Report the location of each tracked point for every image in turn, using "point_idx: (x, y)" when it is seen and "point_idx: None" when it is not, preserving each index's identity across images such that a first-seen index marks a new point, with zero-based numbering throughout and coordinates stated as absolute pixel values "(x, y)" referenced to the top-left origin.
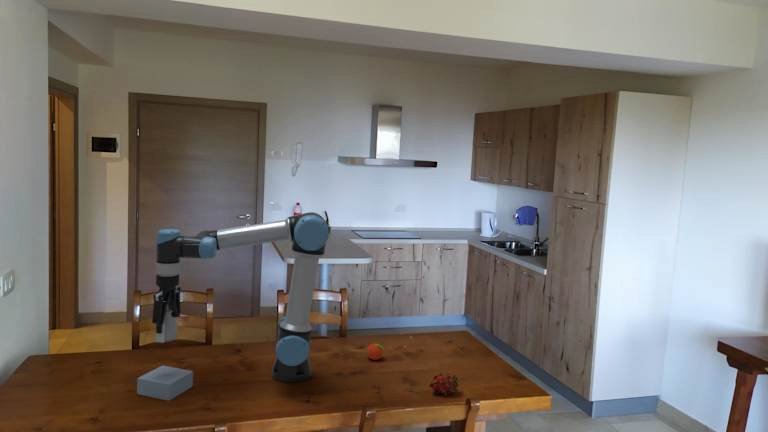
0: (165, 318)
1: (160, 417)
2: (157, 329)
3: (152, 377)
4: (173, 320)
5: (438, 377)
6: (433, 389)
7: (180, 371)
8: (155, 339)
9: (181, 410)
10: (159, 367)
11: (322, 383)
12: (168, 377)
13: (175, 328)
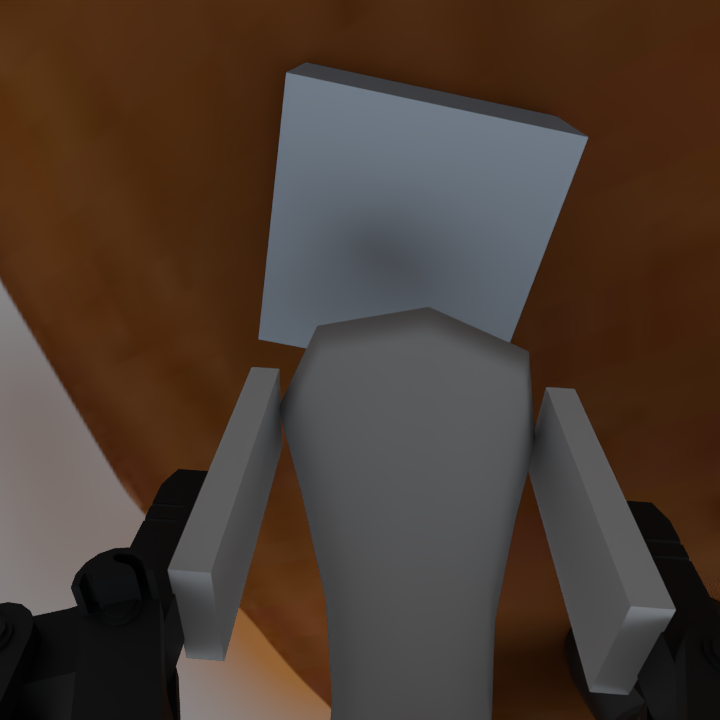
0: (333, 695)
1: (107, 332)
2: (146, 533)
3: (333, 183)
4: (585, 616)
5: None
6: None
7: (477, 317)
8: (315, 333)
9: (205, 386)
10: (539, 134)
11: (565, 715)
12: (362, 287)
13: (547, 532)
